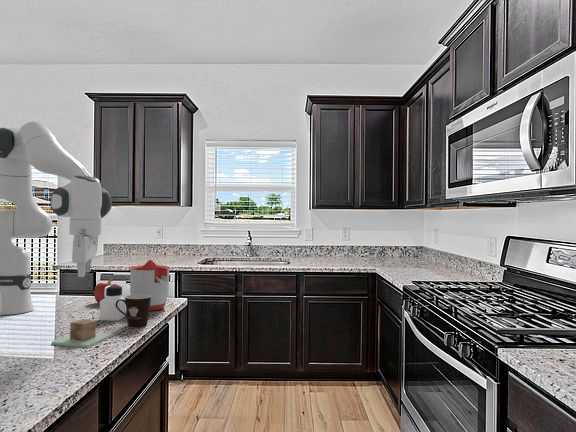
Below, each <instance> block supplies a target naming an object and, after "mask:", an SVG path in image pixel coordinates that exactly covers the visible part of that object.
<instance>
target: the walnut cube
mask: <svg viewBox="0 0 576 432" xmlns="http://www.w3.org/2000/svg"><path fill="white" fill-rule="evenodd" d="M96 324H97V320H93V319H88V318H81V319H78V320H75V321H71V322H70V323H69V327H70V329H69V335H70V339H74V340H80V341H84V340H87V339H90V338H94V337H95V336H96V333H97V332H96V329H97V328H96V327H97V325H96Z"/></svg>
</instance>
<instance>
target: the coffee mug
mask: <svg viewBox="0 0 576 432" xmlns="http://www.w3.org/2000/svg"><path fill="white" fill-rule="evenodd" d="M124 298H125V300H123V299H120V300H118V301H116V308H117V309H118V310H119V311H120V312H121V313H122V314H124V315H125V317H126V321H127V326H128V327H130V328H144V327H146V326H148V319H149V313H150V311H149V307H150V300H151V296H150V295H145V294H135V295H131V294H129V295H126V296H124ZM119 301H123V302H124V303H125V304H126V308H125V313H124V312H123V311H121V310H120V309H119V308H118V306H117V304H118V302H119Z"/></svg>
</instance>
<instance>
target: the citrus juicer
mask: <svg viewBox="0 0 576 432" xmlns="http://www.w3.org/2000/svg"><path fill="white" fill-rule="evenodd" d="M170 268H171V267H170V266H168V265H163V264H161V265H159V264H156V263H155V261H153V259H149V260H147V261H146V262H145V263H144V264H140V265H133V266H130V267H129V269H130V277H129V278H130V285H129V290H130V291H129V292H130V294H129V295H135V294H145V295H150V296H151V300H150V307H149V312H151V311H157V310H162V309H164V308H165V306H166V303H167V300H168V295H169V288H170V285H169V284H170Z"/></svg>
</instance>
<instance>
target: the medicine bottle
mask: <svg viewBox="0 0 576 432" xmlns="http://www.w3.org/2000/svg"><path fill="white" fill-rule="evenodd" d="M118 285H119V284H117V285H111V286H107V287H105V291H104V297H105V299H103V300H101V301H100V303H99V321H109V322H110V321H112V322H114V321H117V322H118V321H119V322H120V320H122V319H123V318H125V317H126V316H125V315H124V314H122V313H121V312H120V311H119V310H118V309H117V308H116V301H118V300H120V299H123V300H125V297H123V287H122V286H121V285H119V286H118ZM117 306H118V308H119V309H120V310H121V311H123V312H124V313H125V314H126V304H125V303H124V302H123V301H119V302H118V304H117Z"/></svg>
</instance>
